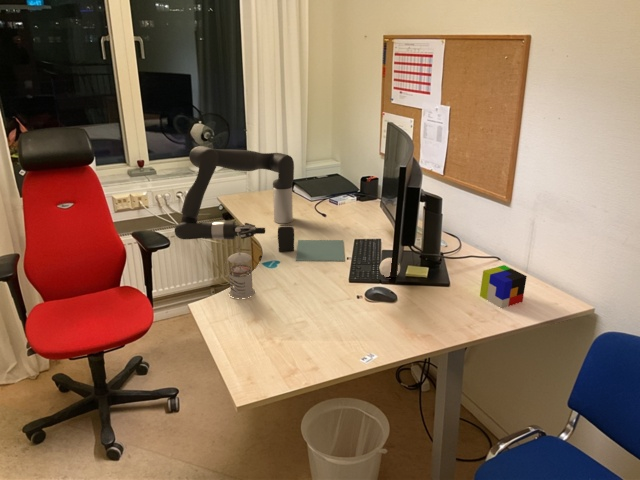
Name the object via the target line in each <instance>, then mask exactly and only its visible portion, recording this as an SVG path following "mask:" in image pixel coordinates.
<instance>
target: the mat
mask: <svg viewBox="0 0 640 480" xmlns="http://www.w3.org/2000/svg"><path fill="white" fill-rule="evenodd" d="M295 262H345V247H344V240H343V239H298V240H297V245H296V254H295Z"/></svg>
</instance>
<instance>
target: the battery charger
mask: <svg viewBox="0 0 640 480" xmlns="http://www.w3.org/2000/svg"><path fill="white" fill-rule="evenodd" d="M277 244H278V246H277V247H278V252H279V253H281V252H283V253H287V252H290V253H291V252H294V251H295V228H294V226H293V225H292V224H280V225H278V228H277Z"/></svg>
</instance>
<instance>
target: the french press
mask: <svg viewBox="0 0 640 480" xmlns="http://www.w3.org/2000/svg"><path fill="white" fill-rule="evenodd" d="M235 231H236V232H240V231H241V229H240V228H236V229H235ZM237 239H238V240H237V243H238V245H240V236H239V234H238V236H237ZM251 260H252V256H251V255H250V254H248V253H246V252H241V251H240V249H238V252H235V253H233V254H232V253H231V255H229V256H228V257H227V260H226V261H225V262H224V265H223V266H224V268H223V269H224V272H225V274H226V276H227V278H229V284H230V290H229V291H230V292H229V291H228V293H229V294H230V296H232V297H234V298H239V299H242V298H248V297H250V296H253V295H254V294H255V295H256V293H255V291H256V290H255V289H254V287H253V272H252V270H251V266H250V265H249V264H246V263H249V262H250V261H251ZM226 263H230V264H235V265H232V266H231V267H230V268H229V267H227V270H228V272H229V275H228V273H227V271H226V265H227V264H226ZM255 295H254V296H255ZM254 296H253V297H254ZM248 299H249V298H248Z"/></svg>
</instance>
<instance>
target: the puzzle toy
mask: <svg viewBox="0 0 640 480" xmlns="http://www.w3.org/2000/svg"><path fill="white" fill-rule="evenodd" d="M526 282H527V275H525V274H523V273H522V272H520V271H517V270H515V269H513V268H511V267H509V266H507V265H505V264H503V265H500V266H495V267H492V268H488V269H483V271H482V276H481V286H480V290H479V291H480V292H479V296H480V297H481V298H482V299H484V300H485V301H487V300H488V301H487V302H488V303H489V302H490V303H491V304H492V303H493V305H494V306H496V307H497V308H499V307H500V309H501V308H502V309H504V307H505V308H507V306H508V307H511V306H513V304H514V305H516V303H517V304H520V303H519V302H521V303H523V302H524V301H523V300H524V295H525V288H526ZM510 305H511V306H510Z"/></svg>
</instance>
